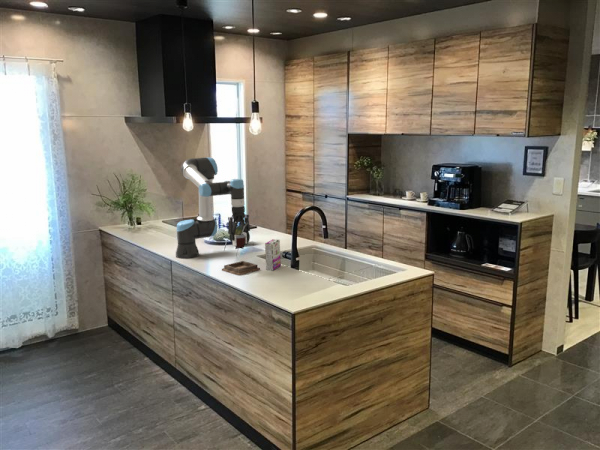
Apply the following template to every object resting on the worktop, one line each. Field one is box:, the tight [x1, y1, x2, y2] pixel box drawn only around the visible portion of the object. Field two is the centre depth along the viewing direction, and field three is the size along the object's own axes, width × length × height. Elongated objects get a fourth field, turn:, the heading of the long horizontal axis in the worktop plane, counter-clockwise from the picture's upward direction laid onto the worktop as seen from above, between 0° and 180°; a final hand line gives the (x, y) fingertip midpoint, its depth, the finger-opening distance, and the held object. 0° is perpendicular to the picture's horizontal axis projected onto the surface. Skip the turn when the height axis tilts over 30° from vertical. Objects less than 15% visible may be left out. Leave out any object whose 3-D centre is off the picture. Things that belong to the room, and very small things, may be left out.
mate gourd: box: [235, 223, 248, 250], centre depth 303 cm, size 8×8×15 cm
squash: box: [228, 224, 251, 244], centre depth 373 cm, size 14×15×15 cm
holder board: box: [221, 260, 261, 276], centre depth 306 cm, size 16×16×3 cm
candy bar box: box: [264, 238, 282, 271], centre depth 308 cm, size 11×5×16 cm, turn 158°
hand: (239, 244), depth 304 cm, fingers closed on mate gourd, 7 cm apart
